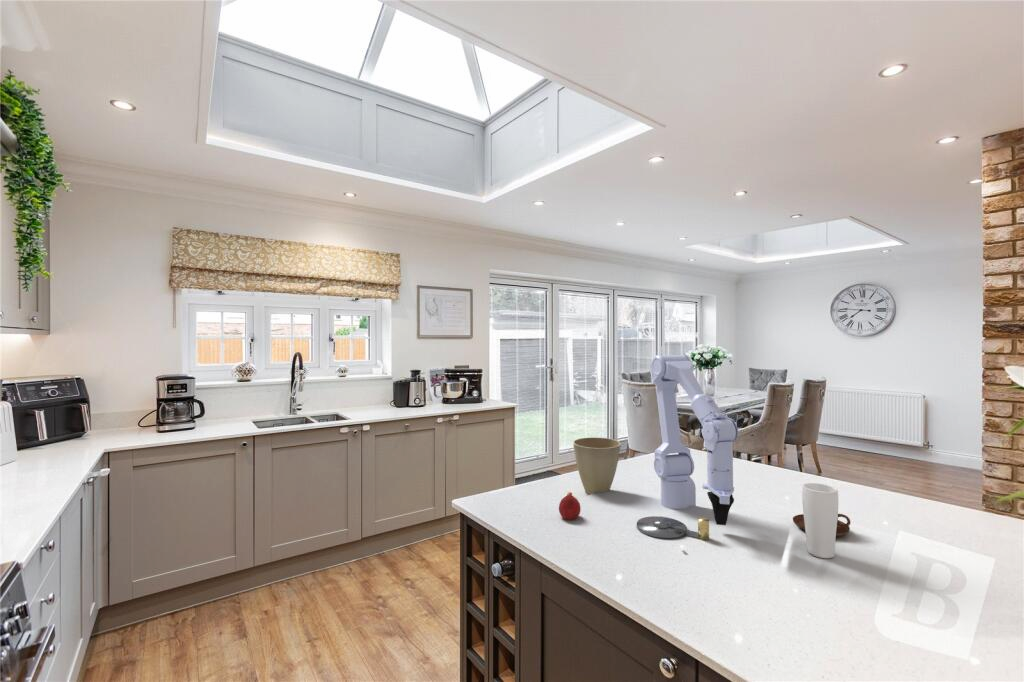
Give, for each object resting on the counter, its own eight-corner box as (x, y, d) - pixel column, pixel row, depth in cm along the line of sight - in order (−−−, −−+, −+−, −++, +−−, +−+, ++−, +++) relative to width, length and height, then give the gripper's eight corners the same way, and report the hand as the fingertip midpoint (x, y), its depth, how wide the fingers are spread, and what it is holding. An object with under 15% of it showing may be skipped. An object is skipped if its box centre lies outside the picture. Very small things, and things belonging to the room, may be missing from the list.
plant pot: (565, 494, 147) (564, 444, 147) (586, 482, 159) (585, 435, 159) (610, 503, 138) (609, 450, 138) (628, 489, 150) (627, 440, 150)
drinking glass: (833, 549, 107) (832, 484, 107) (843, 563, 100) (842, 493, 100) (799, 545, 109) (798, 481, 109) (807, 558, 103) (806, 490, 102)
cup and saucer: (843, 525, 121) (843, 501, 121) (855, 544, 110) (855, 518, 110) (790, 518, 126) (789, 495, 126) (796, 535, 115) (795, 510, 115)
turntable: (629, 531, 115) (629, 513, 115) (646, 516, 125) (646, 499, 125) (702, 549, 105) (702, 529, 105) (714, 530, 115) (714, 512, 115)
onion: (580, 527, 121) (579, 496, 121) (557, 525, 122) (557, 495, 122) (581, 518, 127) (580, 489, 127) (560, 517, 128) (559, 488, 128)
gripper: (699, 459, 122) (699, 511, 122) (705, 475, 108) (706, 534, 108) (728, 461, 120) (729, 514, 120) (739, 477, 106) (739, 537, 106)
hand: (720, 523), depth 114 cm, fingers closed
